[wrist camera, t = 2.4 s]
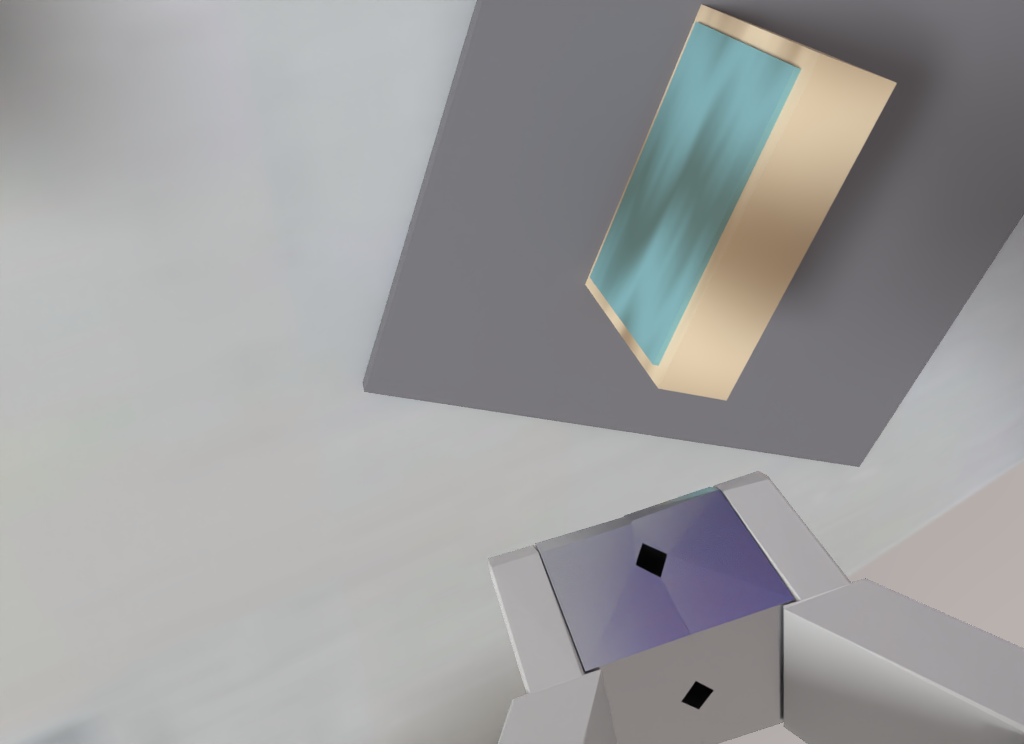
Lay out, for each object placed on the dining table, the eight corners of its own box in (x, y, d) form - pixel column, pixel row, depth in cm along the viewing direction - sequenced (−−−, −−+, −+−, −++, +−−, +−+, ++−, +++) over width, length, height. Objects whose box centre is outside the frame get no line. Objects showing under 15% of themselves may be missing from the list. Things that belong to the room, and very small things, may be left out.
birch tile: (643, 297, 32) (726, 400, 26) (580, 283, 31) (652, 387, 25) (765, 29, 27) (896, 82, 22) (695, 2, 26) (815, 51, 21)
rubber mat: (851, 459, 41) (859, 466, 40) (362, 382, 32) (364, 391, 31) (1156, -17, 31) (1171, -14, 30) (573, -323, 22) (580, -326, 21)
